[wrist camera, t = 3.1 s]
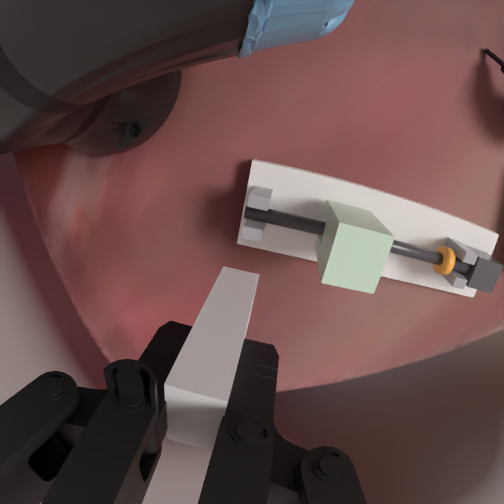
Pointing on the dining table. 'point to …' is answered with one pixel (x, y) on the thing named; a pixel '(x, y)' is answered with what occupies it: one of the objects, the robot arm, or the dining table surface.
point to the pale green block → (352, 248)
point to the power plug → (498, 60)
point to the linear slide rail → (386, 211)
